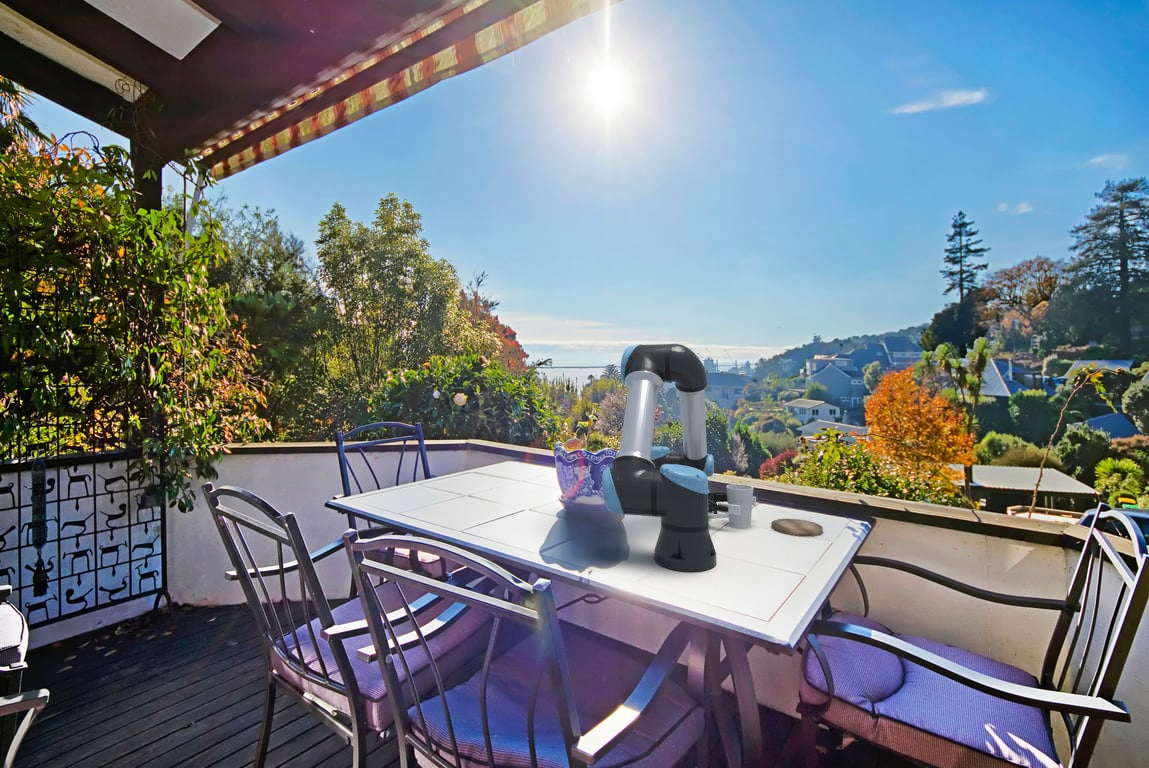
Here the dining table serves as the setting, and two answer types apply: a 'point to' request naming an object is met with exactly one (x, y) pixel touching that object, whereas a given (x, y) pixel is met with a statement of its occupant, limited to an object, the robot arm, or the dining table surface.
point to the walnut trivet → (797, 527)
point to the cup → (740, 504)
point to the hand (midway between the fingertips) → (748, 505)
